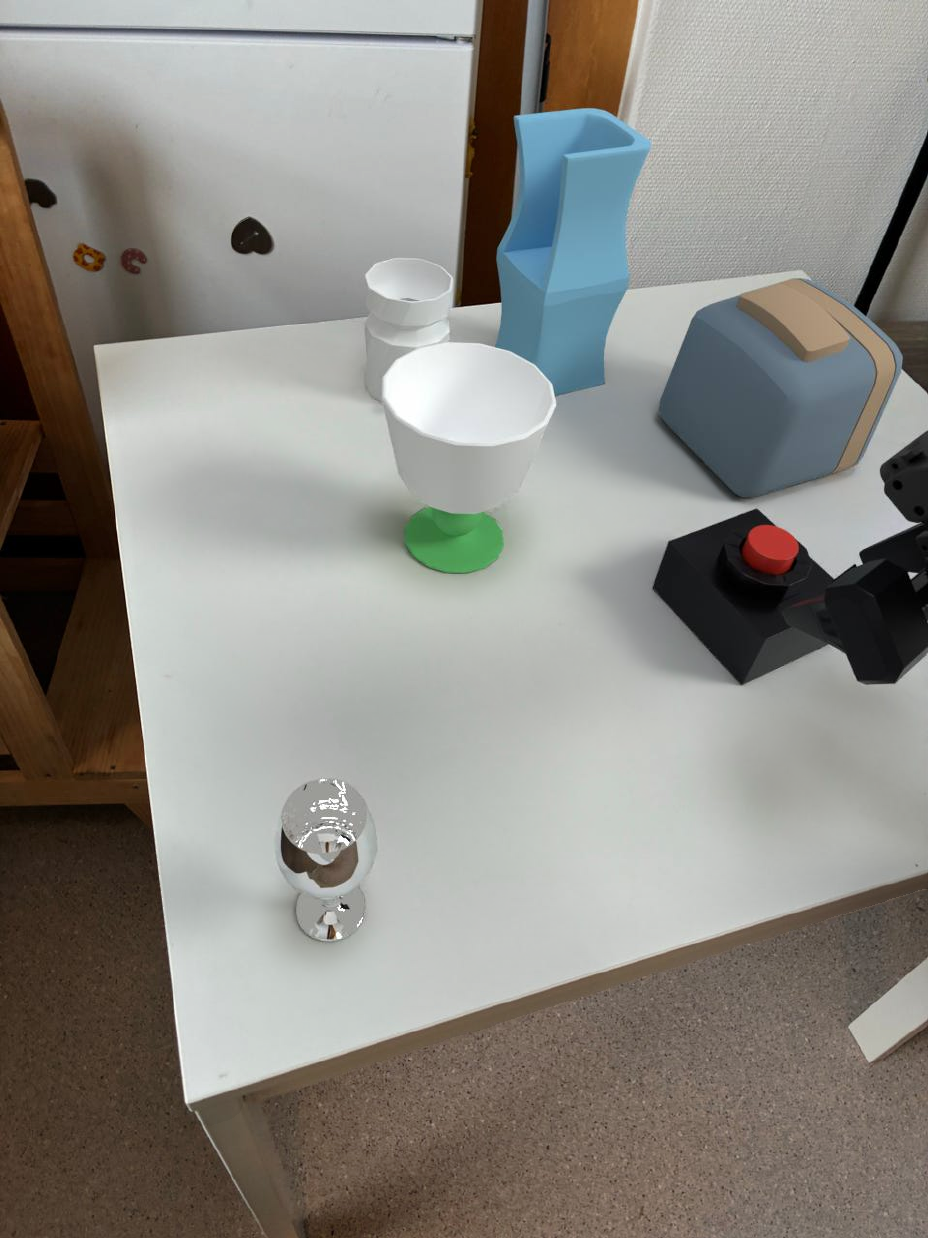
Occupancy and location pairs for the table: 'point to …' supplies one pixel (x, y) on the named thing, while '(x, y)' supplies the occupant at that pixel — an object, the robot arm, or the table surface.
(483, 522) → the cup
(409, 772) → the table surface
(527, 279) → the vase
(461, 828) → the table surface
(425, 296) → the vase
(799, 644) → the control block
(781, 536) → the button
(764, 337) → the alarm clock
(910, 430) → the table surface
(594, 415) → the table surface
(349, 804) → the wineglass
